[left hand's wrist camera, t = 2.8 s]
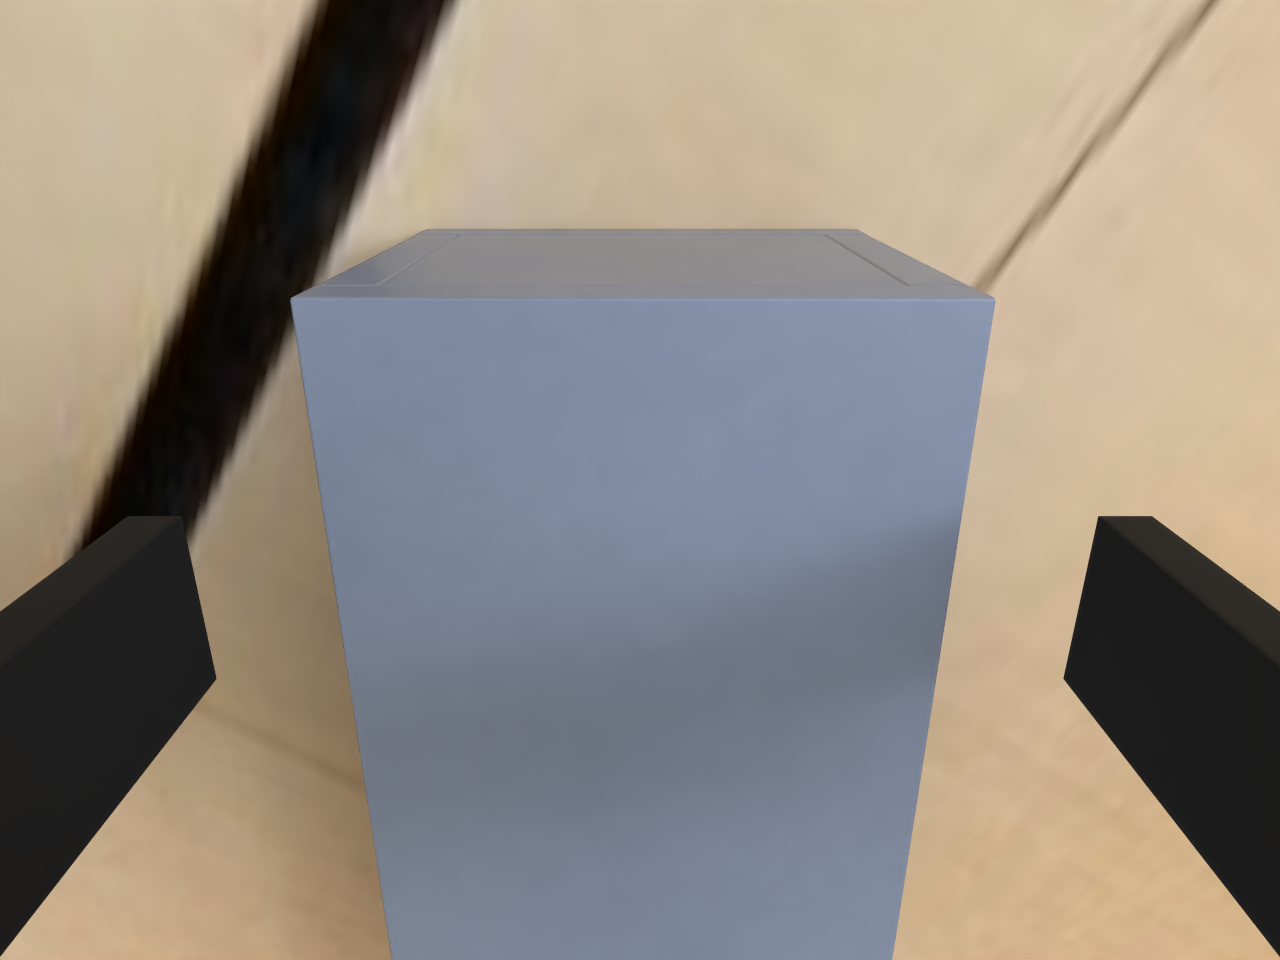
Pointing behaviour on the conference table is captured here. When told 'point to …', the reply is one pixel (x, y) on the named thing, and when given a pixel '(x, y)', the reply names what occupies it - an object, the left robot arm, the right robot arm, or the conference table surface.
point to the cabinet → (642, 579)
